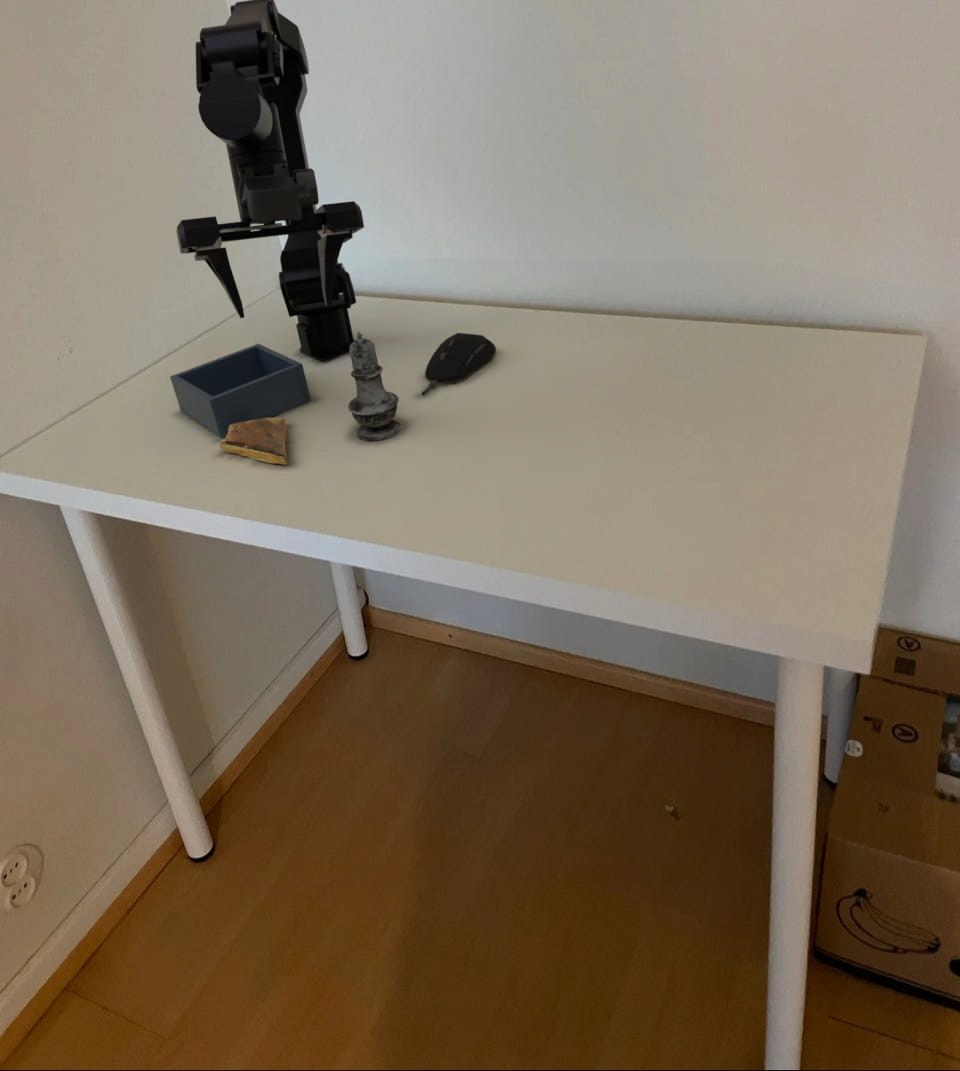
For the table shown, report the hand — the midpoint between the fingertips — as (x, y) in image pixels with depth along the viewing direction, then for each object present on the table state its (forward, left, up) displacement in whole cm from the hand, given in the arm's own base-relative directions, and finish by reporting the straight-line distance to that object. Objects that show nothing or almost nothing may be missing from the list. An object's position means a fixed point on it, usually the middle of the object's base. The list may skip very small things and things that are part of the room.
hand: (285, 311), depth 102 cm
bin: (+1, -16, -16) cm, 22 cm away
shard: (+4, -4, -16) cm, 17 cm away
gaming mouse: (-22, -2, -16) cm, 27 cm away
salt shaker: (-6, +4, -16) cm, 17 cm away
